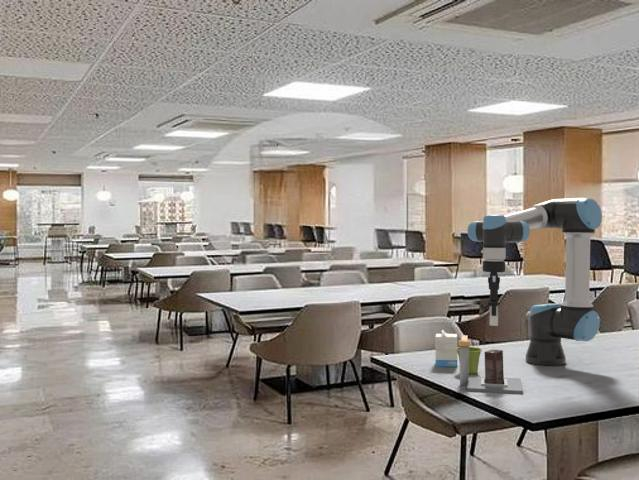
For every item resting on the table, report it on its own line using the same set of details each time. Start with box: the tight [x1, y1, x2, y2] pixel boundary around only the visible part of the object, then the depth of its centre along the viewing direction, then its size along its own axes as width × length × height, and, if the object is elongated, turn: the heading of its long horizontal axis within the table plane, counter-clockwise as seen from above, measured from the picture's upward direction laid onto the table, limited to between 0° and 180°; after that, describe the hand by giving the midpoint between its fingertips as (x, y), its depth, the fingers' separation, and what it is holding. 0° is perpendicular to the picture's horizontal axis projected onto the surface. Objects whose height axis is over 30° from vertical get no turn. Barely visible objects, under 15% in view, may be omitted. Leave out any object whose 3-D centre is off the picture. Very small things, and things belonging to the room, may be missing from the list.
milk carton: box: [434, 329, 458, 368], centre depth 268 cm, size 9×8×13 cm
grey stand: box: [459, 346, 524, 395], centre depth 233 cm, size 20×18×13 cm
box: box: [484, 349, 505, 384], centre depth 233 cm, size 6×4×12 cm
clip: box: [457, 334, 471, 347], centre depth 240 cm, size 14×4×2 cm, turn 167°
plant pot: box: [456, 346, 483, 375], centre depth 255 cm, size 9×9×9 cm
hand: (493, 322), depth 232 cm, fingers open, 13 cm apart
